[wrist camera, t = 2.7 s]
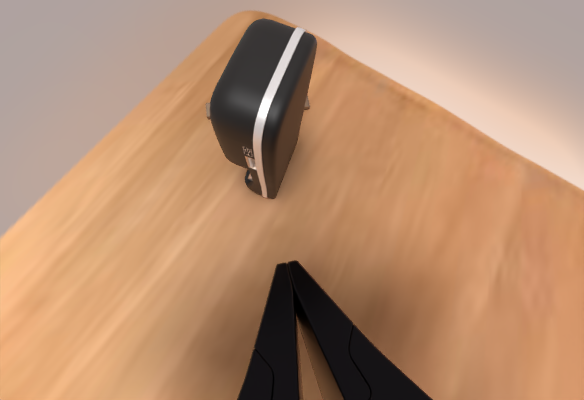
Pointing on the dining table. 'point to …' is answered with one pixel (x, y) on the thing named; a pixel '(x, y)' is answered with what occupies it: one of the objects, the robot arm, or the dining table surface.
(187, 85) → the dining table surface
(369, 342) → the robot arm
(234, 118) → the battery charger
